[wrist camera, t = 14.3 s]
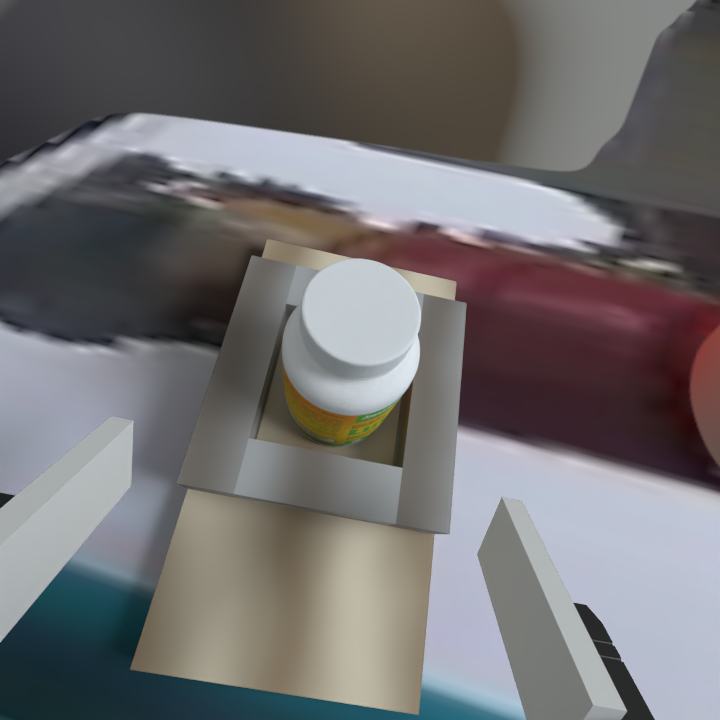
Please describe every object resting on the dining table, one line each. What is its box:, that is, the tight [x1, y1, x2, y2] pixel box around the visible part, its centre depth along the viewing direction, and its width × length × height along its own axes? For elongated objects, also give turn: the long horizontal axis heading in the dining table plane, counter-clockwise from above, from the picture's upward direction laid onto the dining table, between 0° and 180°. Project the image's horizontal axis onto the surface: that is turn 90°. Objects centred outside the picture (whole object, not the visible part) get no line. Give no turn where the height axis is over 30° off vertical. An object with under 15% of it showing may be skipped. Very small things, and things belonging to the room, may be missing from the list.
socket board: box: [130, 239, 466, 715], centre depth 21 cm, size 12×22×4 cm, turn 170°
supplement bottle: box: [282, 259, 421, 447], centre depth 18 cm, size 5×5×10 cm
